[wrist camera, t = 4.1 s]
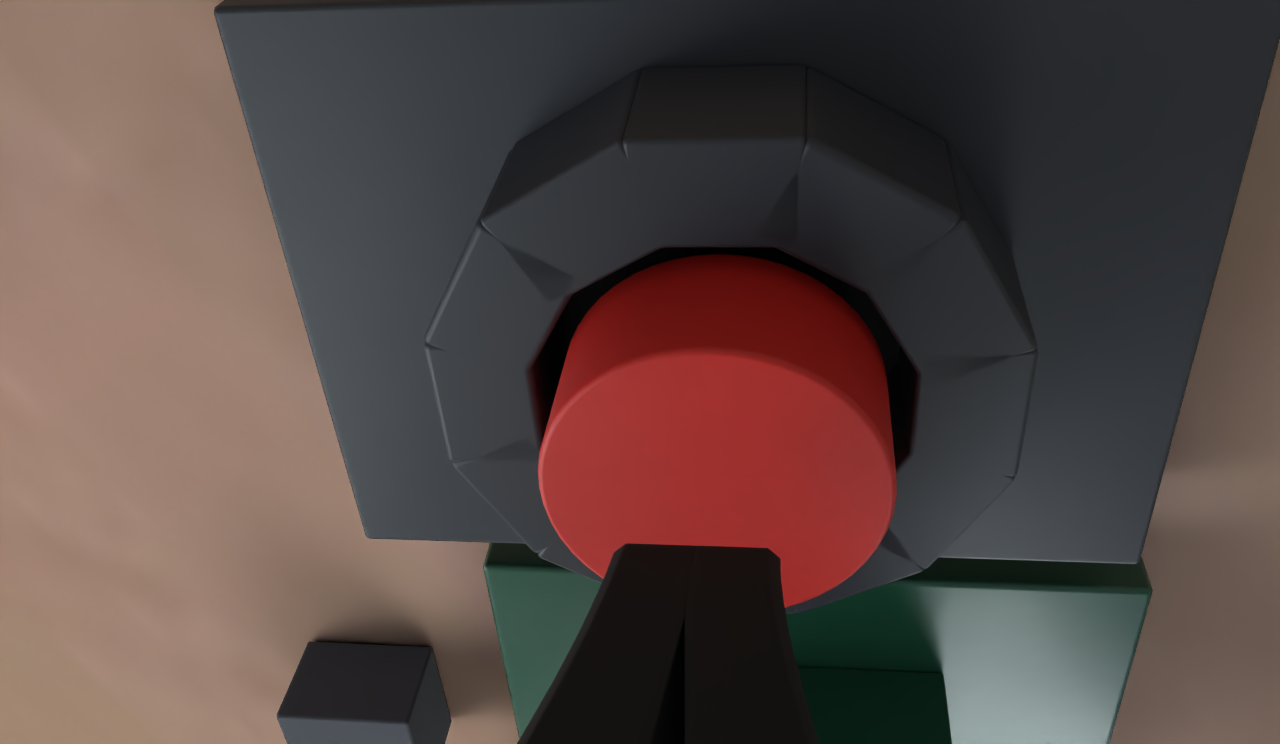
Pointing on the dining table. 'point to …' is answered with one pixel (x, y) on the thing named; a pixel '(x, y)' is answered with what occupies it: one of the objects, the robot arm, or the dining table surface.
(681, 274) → the button
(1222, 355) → the dining table surface
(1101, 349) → the button box
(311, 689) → the block
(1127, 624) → the rod bracket
